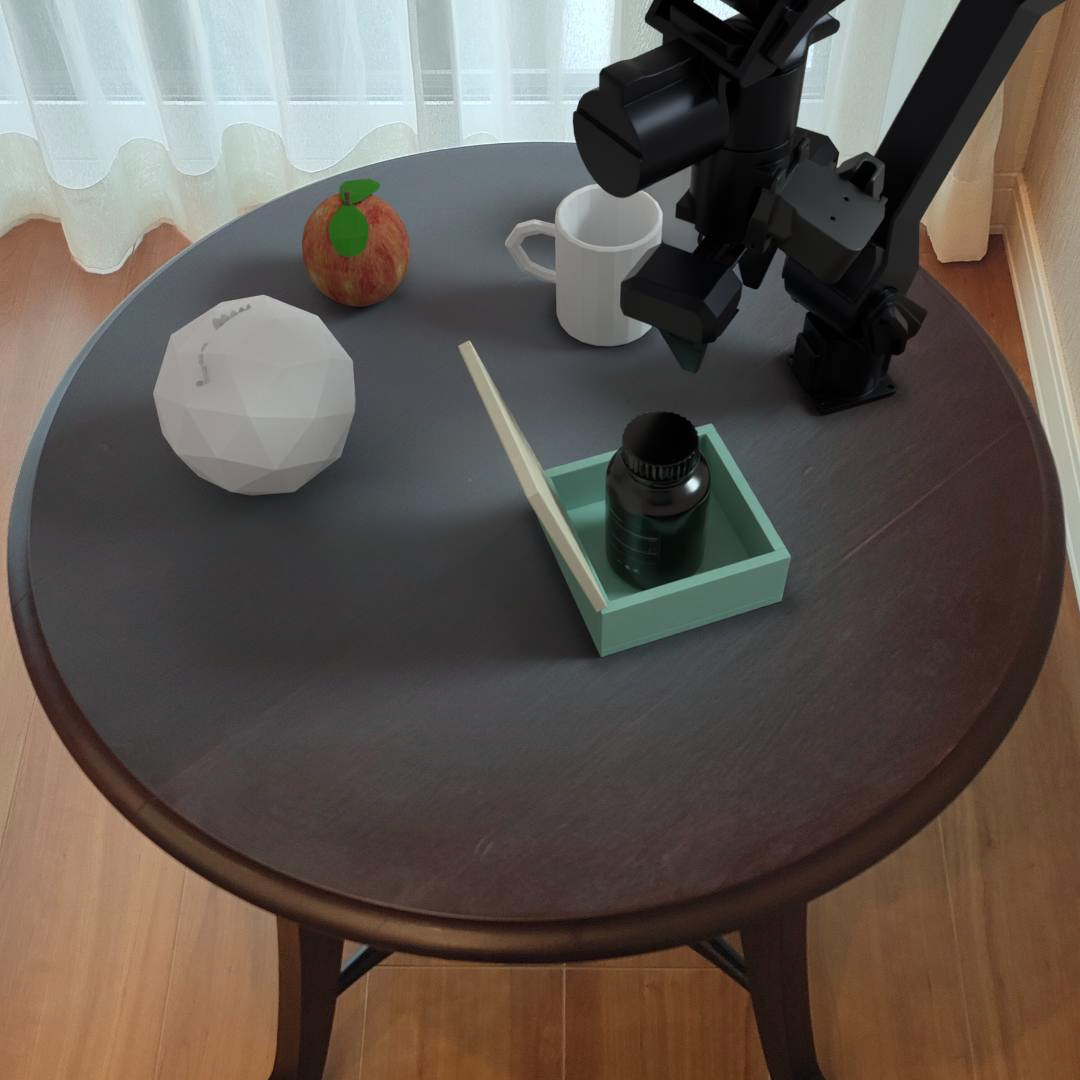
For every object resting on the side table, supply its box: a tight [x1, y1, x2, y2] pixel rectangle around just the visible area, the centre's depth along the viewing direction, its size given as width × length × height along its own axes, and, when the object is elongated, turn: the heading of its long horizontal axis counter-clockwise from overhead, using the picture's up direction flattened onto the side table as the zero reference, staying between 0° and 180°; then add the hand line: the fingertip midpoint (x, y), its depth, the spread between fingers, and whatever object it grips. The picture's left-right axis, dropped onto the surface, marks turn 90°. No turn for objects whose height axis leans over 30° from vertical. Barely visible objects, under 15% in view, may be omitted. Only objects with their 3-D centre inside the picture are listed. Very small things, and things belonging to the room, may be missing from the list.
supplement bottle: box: [605, 409, 712, 590], centre depth 86 cm, size 7×7×12 cm
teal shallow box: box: [537, 423, 792, 658], centre depth 89 cm, size 13×13×5 cm
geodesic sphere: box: [152, 294, 356, 496], centre depth 92 cm, size 15×14×14 cm
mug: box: [504, 183, 663, 347], centre depth 103 cm, size 8×12×10 cm
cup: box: [648, 166, 705, 253], centre depth 109 cm, size 8×8×10 cm
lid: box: [458, 340, 607, 612], centre depth 80 cm, size 14×13×1 cm
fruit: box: [301, 178, 411, 307], centre depth 105 cm, size 9×10×10 cm
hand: (721, 327), depth 87 cm, fingers open, 9 cm apart
